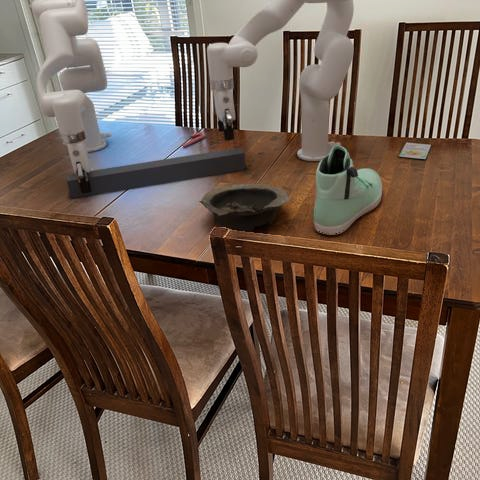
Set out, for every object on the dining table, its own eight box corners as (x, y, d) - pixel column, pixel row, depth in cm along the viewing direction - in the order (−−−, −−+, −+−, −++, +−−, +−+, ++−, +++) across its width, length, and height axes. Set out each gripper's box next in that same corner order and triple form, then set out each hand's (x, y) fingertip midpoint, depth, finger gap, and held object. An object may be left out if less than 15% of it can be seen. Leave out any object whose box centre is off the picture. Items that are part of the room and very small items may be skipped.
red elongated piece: (173, 146, 194) (173, 142, 193) (197, 134, 204) (196, 131, 203) (185, 148, 191) (184, 144, 190) (208, 136, 201) (207, 132, 200)
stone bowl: (227, 251, 123) (222, 218, 119) (191, 218, 143) (186, 190, 139) (307, 222, 132) (305, 191, 128) (262, 196, 152) (259, 168, 148)
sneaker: (389, 187, 148) (396, 123, 138) (356, 242, 123) (361, 168, 112) (346, 181, 154) (350, 119, 144) (306, 232, 129) (307, 161, 118)
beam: (71, 198, 158) (66, 181, 155) (72, 191, 163) (67, 174, 160) (245, 169, 169) (244, 152, 165) (241, 163, 173) (240, 147, 170)
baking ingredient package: (399, 155, 168) (406, 141, 179) (398, 156, 168) (406, 143, 179) (425, 158, 164) (431, 144, 176) (425, 159, 164) (431, 145, 176)
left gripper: (85, 143, 145) (98, 197, 154) (86, 127, 159) (98, 176, 169) (59, 147, 144) (74, 201, 153) (63, 130, 158) (76, 180, 167)
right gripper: (239, 89, 148) (243, 142, 157) (227, 77, 163) (231, 126, 172) (215, 92, 147) (220, 145, 156) (205, 80, 161) (210, 129, 170)
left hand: (86, 188), depth 161 cm, fingers closed on beam, 5 cm apart
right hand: (226, 135), depth 164 cm, fingers open, 9 cm apart
